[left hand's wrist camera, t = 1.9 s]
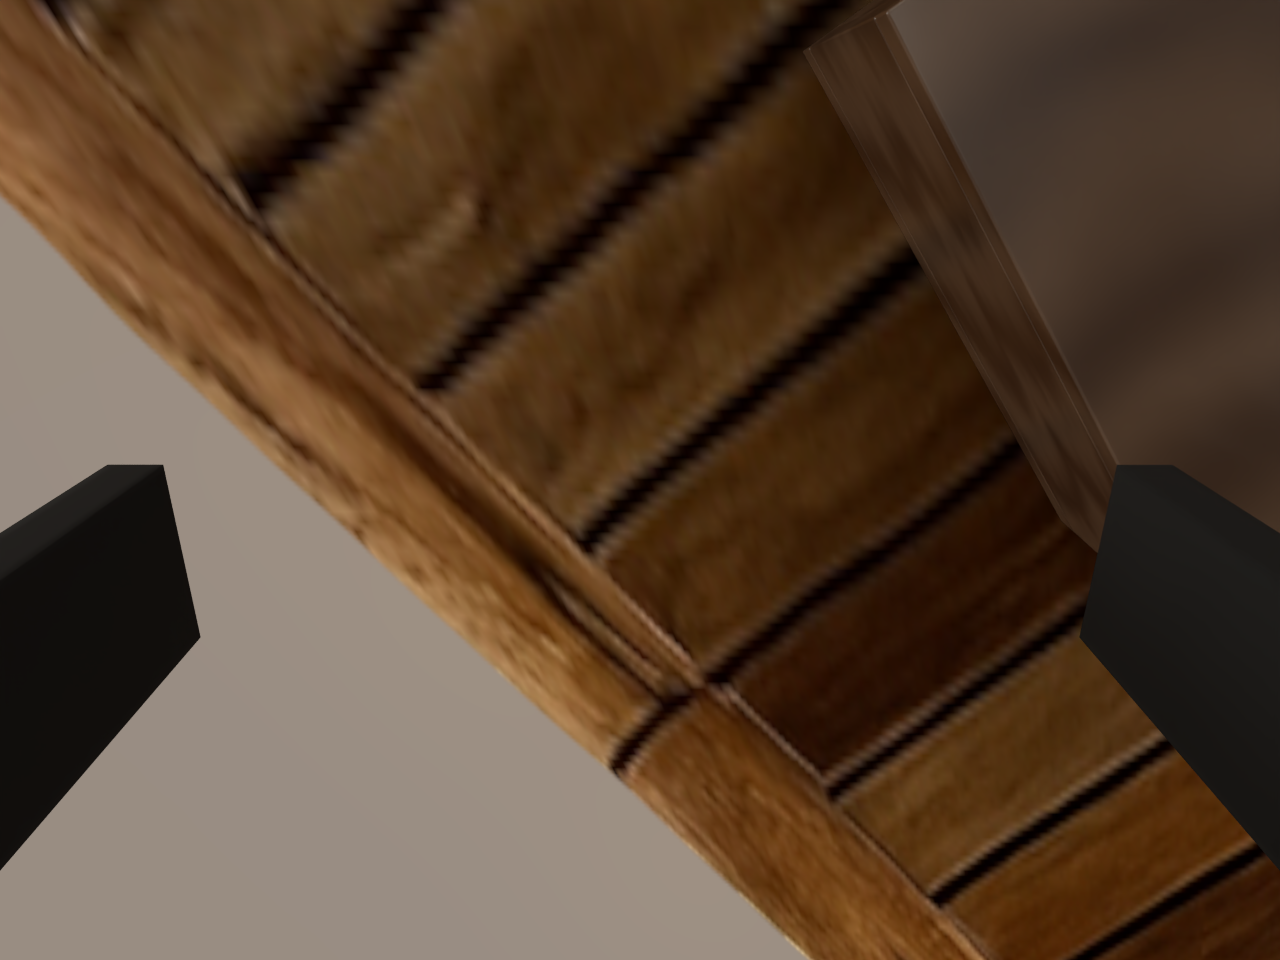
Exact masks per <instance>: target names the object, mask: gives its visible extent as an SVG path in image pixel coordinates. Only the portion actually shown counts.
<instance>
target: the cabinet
mask: <svg viewBox="0 0 1280 960" xmlns="http://www.w3.org/2000/svg"><path fill="white" fill-rule="evenodd" d="M803 53H804V55H805V57H806V58H807V60H808V62H809V64H810V66H811V68H812V69H813V71H814V73H815V75H816V77H817V78H818V80H819V82H820V84H821V86H822V87H823V89H824V91H825V93H826V95H827V97H828V98H829V100H830V102H831V104H832V106H833V107H834V109H835V111H836V113H837V115H838V117H839V118H840V120H841V122H842V124H843V126H844V127H845V129H846V131H847V133H848V135H849V136H850V138H851V140H852V142H853V144H854V146H855V147H856V149H857V151H858V153H859V155H860V156H861V158H862V160H863V162H864V164H865V166H866V167H867V169H868V171H869V173H870V175H871V176H872V178H873V180H874V182H875V184H876V185H877V187H878V189H879V191H880V193H881V195H882V196H883V198H884V200H885V202H886V204H887V205H888V207H889V209H890V211H891V213H892V215H893V216H894V218H895V220H896V222H897V224H898V225H899V227H900V229H901V231H902V233H903V234H904V236H905V238H906V240H907V242H908V244H909V245H910V247H911V249H912V251H913V253H914V254H915V256H916V258H917V260H918V262H919V264H920V265H921V267H922V269H923V271H924V273H925V274H926V276H927V278H928V280H929V282H930V283H931V285H932V287H933V289H934V291H935V293H936V294H937V296H938V298H939V300H940V302H941V303H942V305H943V307H944V309H945V311H946V313H947V314H948V316H949V318H950V320H951V322H952V323H953V325H954V327H955V329H956V331H957V332H958V334H959V336H960V338H961V340H962V342H963V343H964V345H965V347H966V349H967V351H968V352H969V354H970V356H971V358H972V360H973V362H974V363H975V365H976V367H977V369H978V371H979V372H980V374H981V376H982V378H983V380H984V381H985V383H986V385H987V387H988V389H989V391H990V392H991V394H992V396H993V398H994V400H995V401H996V403H997V405H998V407H999V409H1000V411H1001V412H1002V414H1003V416H1004V418H1005V420H1006V421H1007V423H1008V425H1009V427H1010V429H1011V431H1012V432H1013V434H1014V436H1015V438H1016V440H1017V441H1018V443H1019V445H1020V447H1021V449H1022V450H1023V452H1024V454H1025V456H1026V458H1027V460H1028V461H1029V463H1030V465H1031V467H1032V469H1033V470H1034V472H1035V474H1036V476H1037V478H1038V480H1039V481H1040V483H1041V485H1042V487H1043V489H1044V490H1045V492H1046V494H1047V496H1048V498H1049V499H1050V501H1051V503H1052V505H1053V507H1054V509H1055V510H1056V512H1057V514H1058V516H1059V518H1060V519H1061V521H1062V522H1063V523H1064V524H1065V525H1067V526H1068V527H1069V528H1070V529H1071V530H1072V531H1074V532H1075V533H1076V534H1077V535H1078V536H1079V537H1080V538H1081V539H1082V540H1084V541H1085V542H1086V543H1087V544H1088V545H1089V546H1090V547H1091V548H1092V549H1094V550H1095V551H1096V552H1097V553H1098V550H1099V545H1100V540H1101V536H1102V531H1103V527H1104V522H1105V517H1106V513H1107V508H1108V503H1109V499H1110V494H1111V490H1112V485H1113V480H1114V476H1115V471H1116V467H1117V465H1174V466H1175V467H1177V468H1178V469H1180V470H1181V471H1183V472H1185V473H1186V474H1188V475H1189V476H1191V477H1192V478H1194V479H1196V480H1197V481H1199V482H1200V483H1202V484H1203V485H1205V486H1207V487H1208V488H1210V489H1211V490H1213V491H1214V492H1216V493H1218V494H1219V495H1221V496H1222V497H1224V498H1225V499H1227V500H1229V501H1230V502H1232V503H1233V504H1235V505H1236V506H1238V507H1240V508H1241V509H1243V510H1244V511H1246V512H1247V513H1249V514H1251V515H1252V516H1254V517H1255V518H1257V519H1258V520H1260V521H1262V522H1263V523H1265V524H1266V525H1268V526H1269V527H1271V528H1273V529H1274V530H1276V531H1277V532H1279V533H1280V0H873V1H872V2H870V3H869V4H868V5H866V6H865V7H863V8H862V9H861V10H859V11H858V12H856V13H855V14H854V15H852V16H851V17H850V18H848V19H847V20H845V21H844V22H843V23H841V24H840V25H838V26H837V27H836V28H834V29H833V30H831V31H830V32H829V33H827V34H826V35H825V36H823V37H822V38H820V39H819V40H818V41H816V42H815V43H813V44H812V45H811V46H809V47H808V48H807V49H805V50H804V51H803Z"/></svg>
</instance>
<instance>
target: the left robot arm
mask: <svg viewBox="0 0 1280 960" xmlns="http://www.w3.org/2000/svg"><path fill="white" fill-rule="evenodd" d="M199 638H200V633H199V628H198V624H197V619H196V614H195V610H194V605H193V601H192V596H191V591H190V586H189V582H188V578H187V573H186V568H185V563H184V559H183V554H182V550H181V545H180V540H179V536H178V531H177V527H176V522H175V517H174V513H173V508H172V504H171V499H170V494H169V490H168V485H167V480H166V476H165V471H164V467H163V465H107V466H105V467H103V468H102V469H100V470H99V471H97V472H95V473H94V474H92V475H91V476H89V477H88V478H86V479H84V480H83V481H81V482H80V483H78V484H77V485H75V486H73V487H72V488H70V489H69V490H67V491H66V492H64V493H62V494H61V495H59V496H58V497H56V498H55V499H53V500H51V501H50V502H48V503H47V504H45V505H44V506H42V507H41V508H39V509H37V510H36V511H34V512H33V513H31V514H29V515H28V516H26V517H25V518H23V519H22V520H20V521H18V522H17V523H15V524H14V525H12V526H11V527H9V528H7V529H6V530H4V531H3V532H1V533H0V870H1V869H2V868H3V867H4V865H5V864H6V863H7V862H8V861H9V860H10V858H11V857H12V856H13V855H14V854H15V853H16V851H17V850H18V849H19V848H20V847H21V846H22V844H23V843H24V842H25V841H26V840H27V839H28V838H29V836H30V835H31V834H32V833H33V832H34V831H35V829H36V828H37V827H38V826H39V825H40V823H41V822H42V821H43V820H44V819H45V818H46V817H47V815H48V814H49V813H50V812H51V811H52V810H53V808H54V807H55V806H56V805H57V804H58V803H59V801H60V800H61V799H62V798H63V797H64V796H65V794H66V793H67V792H68V791H69V790H70V789H71V787H72V786H73V785H74V784H75V783H76V782H77V780H78V779H79V778H80V777H81V776H82V775H83V773H84V772H85V771H86V770H87V769H88V768H89V766H90V765H91V764H92V763H93V762H94V761H95V759H96V758H97V757H98V756H99V755H100V754H101V752H102V751H103V750H104V749H105V748H106V747H107V746H108V744H109V743H110V742H111V741H112V740H113V739H114V737H115V736H116V735H117V734H118V733H119V732H120V730H121V729H122V728H123V727H124V726H125V725H126V723H127V722H128V721H129V720H130V719H131V718H132V716H133V715H134V714H135V713H136V712H137V711H138V709H139V708H140V707H141V706H142V705H143V704H144V702H145V701H146V700H147V699H148V698H149V697H150V695H151V694H152V693H153V692H154V691H155V690H156V688H157V687H158V686H159V685H160V684H161V683H162V681H163V680H164V679H165V678H166V677H167V676H168V675H169V673H170V672H171V671H172V670H173V669H174V668H175V666H176V665H177V664H178V663H179V662H180V661H181V659H182V658H183V657H184V656H185V655H186V654H187V652H188V651H189V650H190V649H191V648H192V647H193V645H194V644H195V643H196V642H197V641H198V640H199ZM1080 638H1081V640H1082V641H1083V642H1084V643H1085V644H1086V645H1087V647H1088V648H1089V649H1090V650H1091V651H1092V652H1093V654H1094V655H1095V656H1096V657H1097V658H1098V659H1099V661H1100V662H1101V663H1102V664H1103V665H1104V666H1105V668H1106V669H1107V670H1108V671H1109V672H1110V673H1111V675H1112V676H1113V677H1114V678H1115V679H1116V680H1117V682H1118V683H1119V684H1120V685H1121V686H1122V687H1123V688H1124V690H1125V691H1126V692H1127V693H1128V694H1129V695H1130V697H1131V698H1132V699H1133V700H1134V701H1135V702H1136V704H1137V705H1138V706H1139V707H1140V708H1141V709H1142V711H1143V712H1144V713H1145V714H1146V715H1147V716H1148V718H1149V719H1150V720H1151V721H1152V722H1153V723H1154V725H1155V726H1156V727H1157V728H1158V729H1159V730H1160V732H1161V733H1162V734H1163V735H1164V736H1165V737H1166V739H1167V740H1168V741H1169V742H1170V743H1171V744H1172V746H1173V747H1174V748H1175V749H1176V750H1177V751H1178V753H1179V754H1180V755H1181V756H1182V757H1183V758H1184V760H1185V761H1186V762H1187V763H1188V764H1189V765H1190V766H1191V768H1192V769H1193V770H1194V771H1195V772H1196V773H1197V775H1198V776H1199V777H1200V778H1201V779H1202V780H1203V782H1204V783H1205V784H1206V785H1207V786H1208V787H1209V789H1210V790H1211V791H1212V792H1213V793H1214V794H1215V796H1216V797H1217V798H1218V799H1219V800H1220V801H1221V803H1222V804H1223V805H1224V806H1225V807H1226V808H1227V810H1228V811H1229V812H1230V813H1231V814H1232V815H1233V817H1234V818H1235V819H1236V820H1237V821H1238V822H1239V824H1240V825H1241V826H1242V827H1243V828H1244V829H1245V831H1246V832H1247V833H1248V834H1249V835H1250V836H1251V838H1252V839H1253V840H1254V841H1255V842H1256V843H1257V844H1258V846H1259V847H1260V848H1261V849H1262V850H1263V851H1264V853H1265V854H1266V855H1267V856H1268V857H1269V858H1270V860H1271V861H1272V862H1273V863H1274V864H1275V865H1276V867H1277V868H1278V869H1279V870H1280V533H1279V532H1277V531H1276V530H1274V529H1273V528H1271V527H1269V526H1268V525H1266V524H1265V523H1263V522H1262V521H1260V520H1258V519H1257V518H1255V517H1254V516H1252V515H1251V514H1249V513H1247V512H1246V511H1244V510H1243V509H1241V508H1240V507H1238V506H1236V505H1235V504H1233V503H1232V502H1230V501H1229V500H1227V499H1225V498H1224V497H1222V496H1221V495H1219V494H1218V493H1216V492H1214V491H1213V490H1211V489H1210V488H1208V487H1207V486H1205V485H1203V484H1202V483H1200V482H1199V481H1197V480H1196V479H1194V478H1192V477H1191V476H1189V475H1188V474H1186V473H1185V472H1183V471H1181V470H1180V469H1178V468H1177V467H1175V466H1174V465H1117V467H1116V471H1115V476H1114V480H1113V485H1112V490H1111V494H1110V499H1109V503H1108V508H1107V513H1106V517H1105V522H1104V527H1103V531H1102V536H1101V540H1100V545H1099V550H1098V554H1097V559H1096V563H1095V568H1094V573H1093V577H1092V582H1091V586H1090V591H1089V596H1088V600H1087V605H1086V610H1085V614H1084V619H1083V623H1082V628H1081V633H1080Z"/></svg>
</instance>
